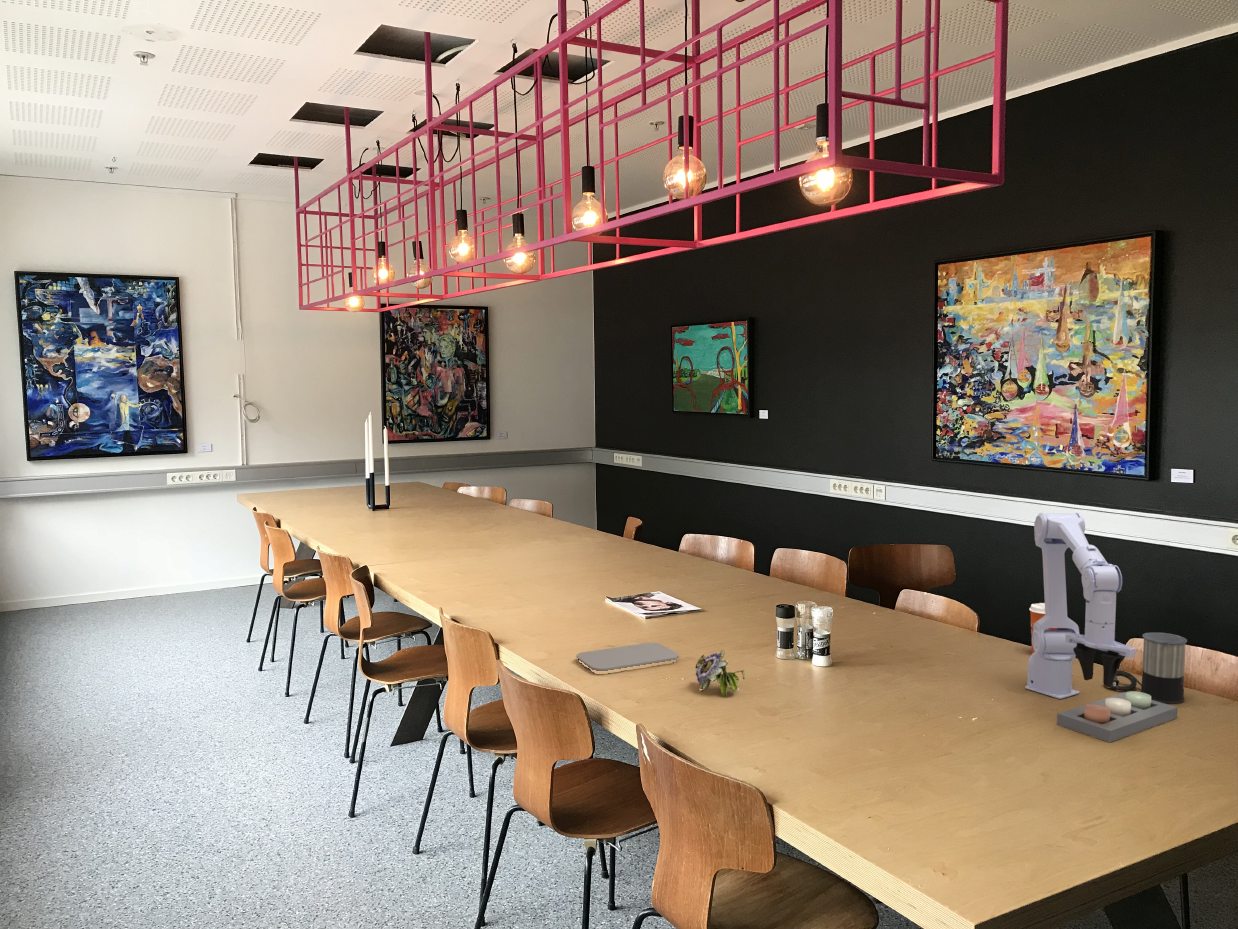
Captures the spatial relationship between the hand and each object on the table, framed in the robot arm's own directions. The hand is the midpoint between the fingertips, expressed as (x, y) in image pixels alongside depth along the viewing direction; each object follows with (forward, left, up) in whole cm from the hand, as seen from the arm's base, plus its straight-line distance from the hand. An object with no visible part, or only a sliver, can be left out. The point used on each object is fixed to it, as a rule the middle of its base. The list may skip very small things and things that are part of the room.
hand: (1098, 682), depth 195 cm
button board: (0, +8, -10) cm, 13 cm away
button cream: (0, +8, -9) cm, 12 cm away
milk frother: (-7, +31, -11) cm, 33 cm away
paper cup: (-39, +39, -11) cm, 56 cm away
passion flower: (-65, -54, -11) cm, 85 cm away
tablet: (-97, -61, -11) cm, 115 cm away
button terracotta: (0, 0, -9) cm, 9 cm away
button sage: (0, +16, -9) cm, 18 cm away
